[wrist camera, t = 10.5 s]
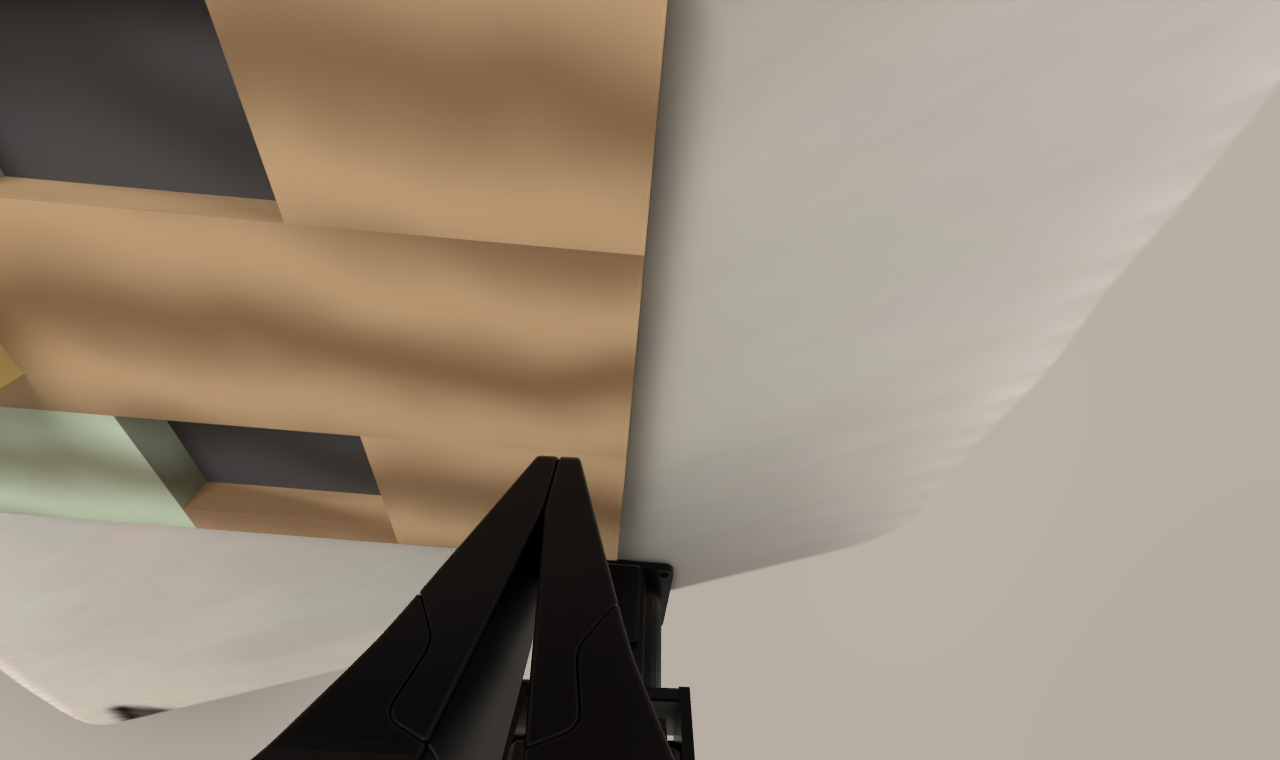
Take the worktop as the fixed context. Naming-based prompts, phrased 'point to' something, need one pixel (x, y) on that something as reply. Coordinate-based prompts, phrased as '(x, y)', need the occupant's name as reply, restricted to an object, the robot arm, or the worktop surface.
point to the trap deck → (320, 257)
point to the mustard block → (8, 368)
